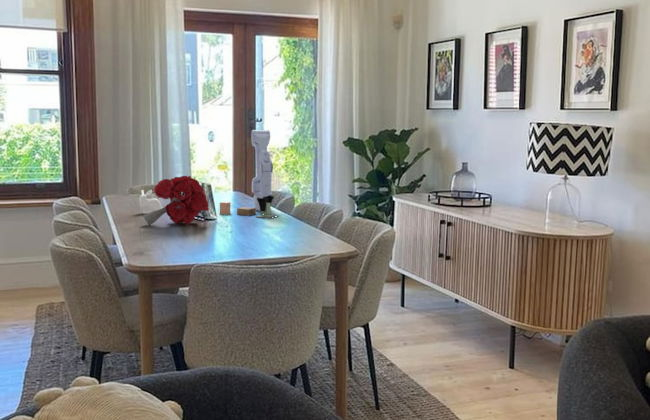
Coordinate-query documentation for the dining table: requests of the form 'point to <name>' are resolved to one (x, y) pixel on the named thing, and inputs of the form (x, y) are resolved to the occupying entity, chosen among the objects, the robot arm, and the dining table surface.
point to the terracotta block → (225, 207)
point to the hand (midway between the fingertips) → (265, 210)
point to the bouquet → (179, 200)
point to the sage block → (266, 209)
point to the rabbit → (149, 203)
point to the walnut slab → (246, 211)
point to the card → (266, 216)
